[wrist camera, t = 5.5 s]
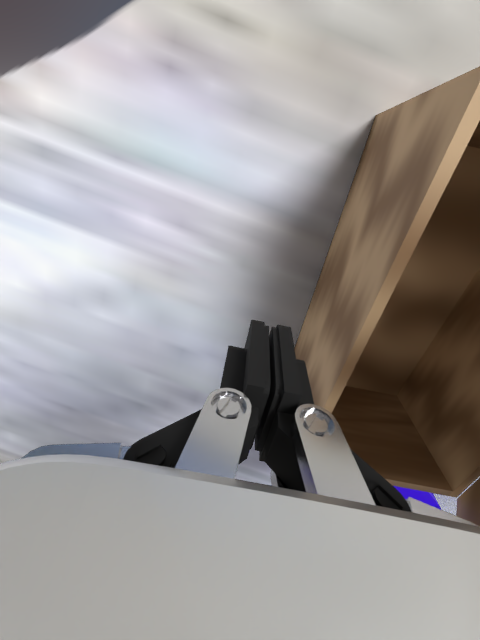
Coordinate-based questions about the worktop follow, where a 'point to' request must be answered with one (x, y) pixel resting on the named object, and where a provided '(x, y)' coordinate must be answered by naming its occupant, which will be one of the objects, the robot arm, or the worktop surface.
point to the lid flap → (470, 504)
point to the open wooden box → (407, 296)
